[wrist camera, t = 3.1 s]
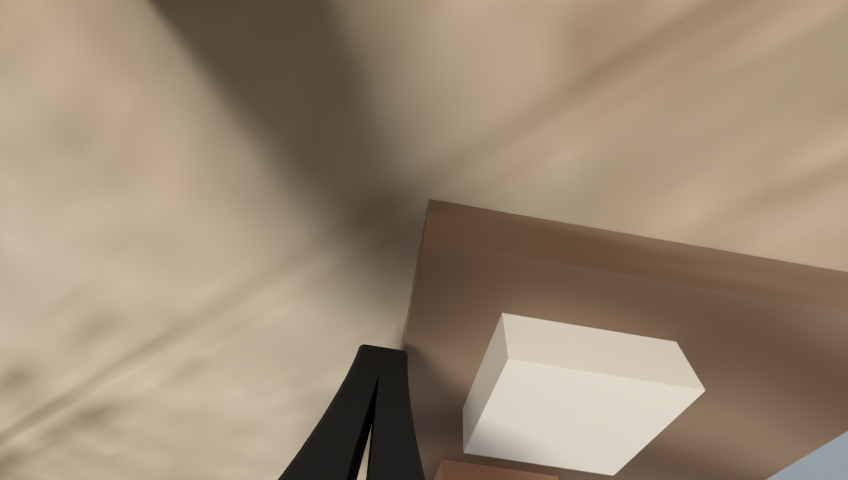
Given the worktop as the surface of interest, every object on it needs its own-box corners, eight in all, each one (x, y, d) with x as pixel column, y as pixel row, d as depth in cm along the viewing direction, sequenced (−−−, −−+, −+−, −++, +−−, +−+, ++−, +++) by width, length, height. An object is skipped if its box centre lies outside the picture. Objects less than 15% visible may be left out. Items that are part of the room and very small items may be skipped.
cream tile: (599, 429, 13) (613, 475, 12) (462, 408, 13) (463, 452, 12) (676, 341, 10) (705, 390, 9) (502, 312, 10) (508, 358, 9)
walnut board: (631, 508, 22) (645, 551, 20) (377, 470, 21) (371, 511, 19) (922, 285, 11) (1002, 339, 9) (429, 199, 11) (424, 240, 9)
